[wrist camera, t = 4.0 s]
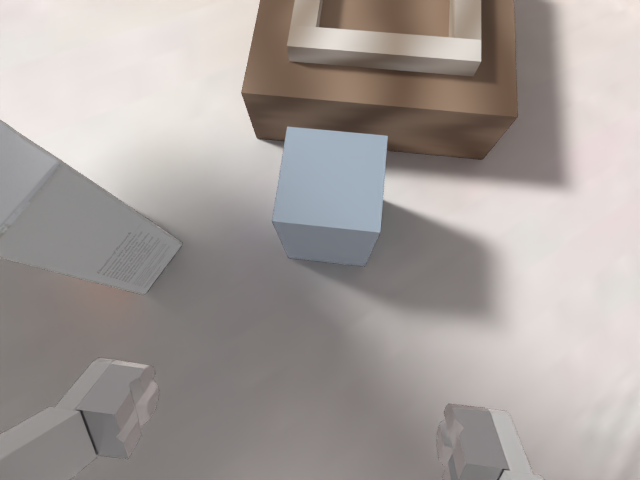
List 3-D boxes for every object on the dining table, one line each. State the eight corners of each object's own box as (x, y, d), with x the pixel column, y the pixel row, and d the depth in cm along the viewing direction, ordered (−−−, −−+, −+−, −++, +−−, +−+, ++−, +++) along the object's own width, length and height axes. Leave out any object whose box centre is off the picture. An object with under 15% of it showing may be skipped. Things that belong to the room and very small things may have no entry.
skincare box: (75, 251, 25) (-143, 168, 13) (117, 200, 26) (-53, 82, 14) (146, 299, 24) (-24, 256, 12) (186, 244, 25) (64, 157, 13)
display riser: (256, 138, 27) (236, 78, 21) (288, -31, 31) (278, -120, 25) (482, 159, 26) (528, 103, 20) (482, -17, 30) (520, -106, 24)
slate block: (288, 258, 24) (271, 221, 17) (298, 188, 26) (287, 126, 19) (364, 266, 24) (380, 232, 17) (370, 195, 26) (387, 135, 18)
